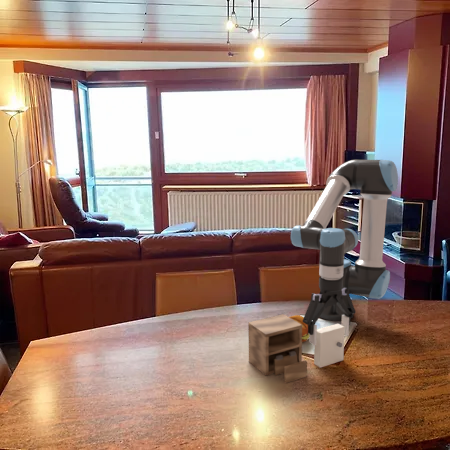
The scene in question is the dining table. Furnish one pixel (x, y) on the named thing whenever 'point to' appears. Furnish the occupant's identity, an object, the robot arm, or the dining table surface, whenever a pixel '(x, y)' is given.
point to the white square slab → (329, 345)
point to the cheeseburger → (304, 326)
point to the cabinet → (277, 347)
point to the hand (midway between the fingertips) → (328, 338)
